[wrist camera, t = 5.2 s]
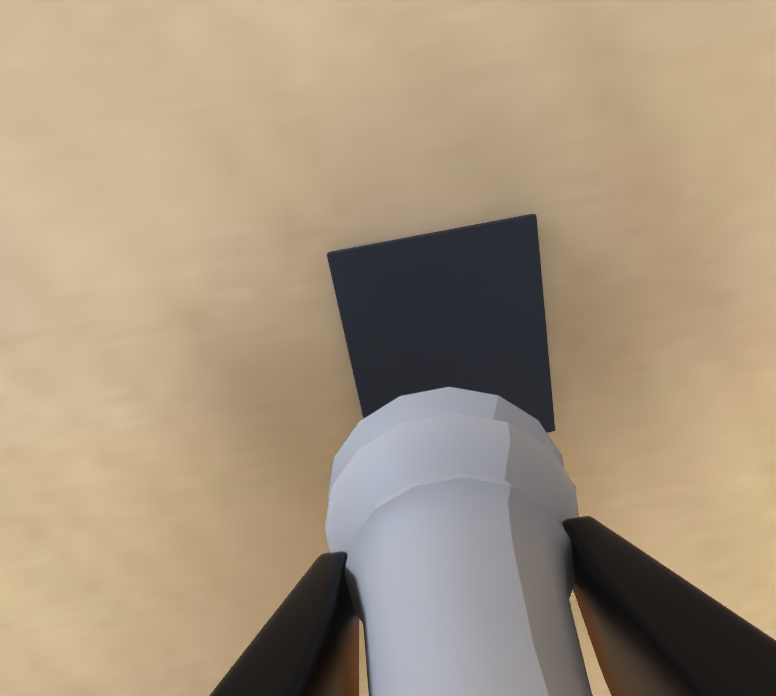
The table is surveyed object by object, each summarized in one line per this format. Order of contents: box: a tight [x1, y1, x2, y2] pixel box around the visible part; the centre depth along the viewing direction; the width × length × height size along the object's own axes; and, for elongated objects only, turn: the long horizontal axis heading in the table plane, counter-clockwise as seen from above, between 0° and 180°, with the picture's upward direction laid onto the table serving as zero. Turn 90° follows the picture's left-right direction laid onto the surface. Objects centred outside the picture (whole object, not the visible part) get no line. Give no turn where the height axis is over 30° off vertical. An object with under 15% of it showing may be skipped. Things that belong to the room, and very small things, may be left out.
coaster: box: [327, 214, 555, 432], centre depth 17 cm, size 8×7×1 cm
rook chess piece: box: [325, 387, 593, 696], centre depth 6 cm, size 4×4×8 cm
